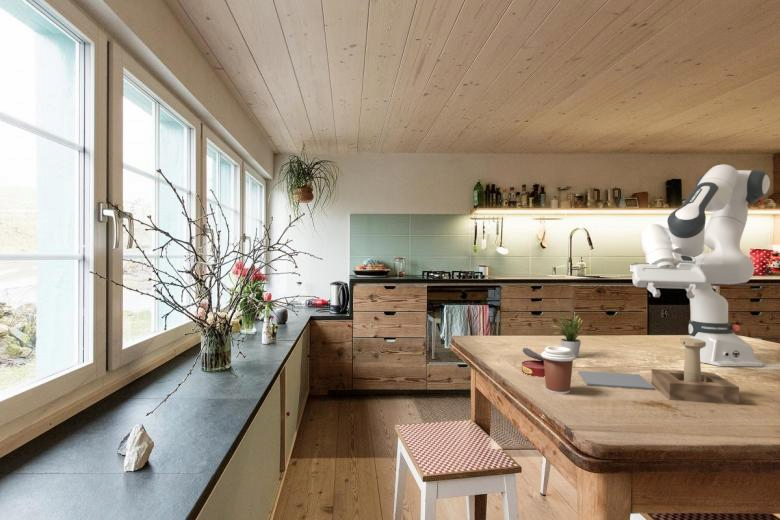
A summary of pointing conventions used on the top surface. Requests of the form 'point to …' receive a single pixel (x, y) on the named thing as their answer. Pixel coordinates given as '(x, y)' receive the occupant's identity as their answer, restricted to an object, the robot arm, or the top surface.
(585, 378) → the mat
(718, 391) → the tray
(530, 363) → the canned food
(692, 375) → the handle
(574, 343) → the house plant
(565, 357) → the coffee cup
